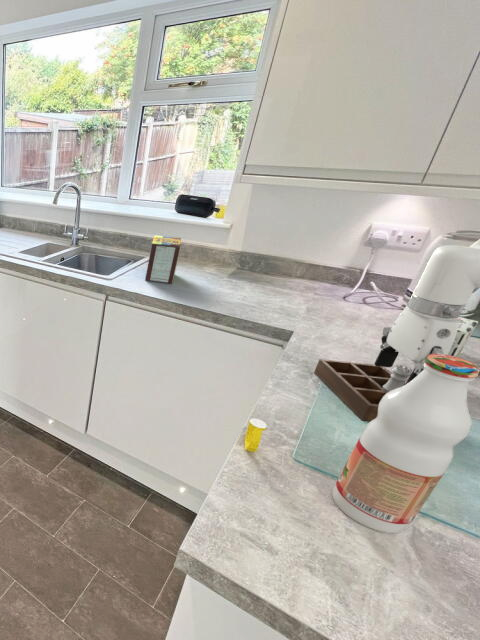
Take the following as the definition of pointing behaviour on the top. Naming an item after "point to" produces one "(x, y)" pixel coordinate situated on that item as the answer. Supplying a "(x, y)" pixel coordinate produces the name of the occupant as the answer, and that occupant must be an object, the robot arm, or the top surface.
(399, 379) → the rook chess piece
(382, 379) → the grid
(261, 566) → the top surface
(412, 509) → the fruit juice
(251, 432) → the yellow pill bottle
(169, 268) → the protein box
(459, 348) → the candy bar box
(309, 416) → the top surface
